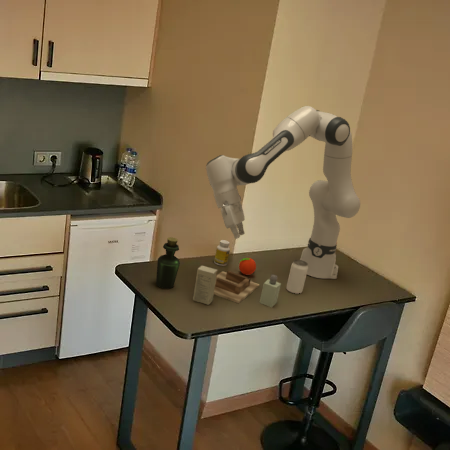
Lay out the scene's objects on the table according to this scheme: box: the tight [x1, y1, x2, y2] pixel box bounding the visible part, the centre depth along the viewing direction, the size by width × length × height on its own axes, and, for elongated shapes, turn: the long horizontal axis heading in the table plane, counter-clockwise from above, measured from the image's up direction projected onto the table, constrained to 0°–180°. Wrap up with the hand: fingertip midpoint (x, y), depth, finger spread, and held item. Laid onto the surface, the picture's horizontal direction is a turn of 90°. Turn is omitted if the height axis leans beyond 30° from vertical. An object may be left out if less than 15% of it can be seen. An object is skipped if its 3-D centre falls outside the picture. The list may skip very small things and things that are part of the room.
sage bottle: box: [259, 273, 282, 308], centre depth 223 cm, size 5×5×11 cm
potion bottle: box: [155, 236, 181, 290], centre depth 220 cm, size 8×8×18 cm
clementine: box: [238, 257, 257, 276], centre depth 245 cm, size 8×7×7 cm
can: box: [285, 259, 308, 295], centre depth 238 cm, size 6×6×12 cm
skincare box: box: [192, 265, 218, 306], centre depth 214 cm, size 6×4×12 cm
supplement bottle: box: [213, 239, 231, 267], centre depth 251 cm, size 5×5×10 cm
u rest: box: [213, 270, 260, 304], centre depth 230 cm, size 20×16×4 cm
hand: (240, 236), depth 221 cm, fingers open, 8 cm apart
